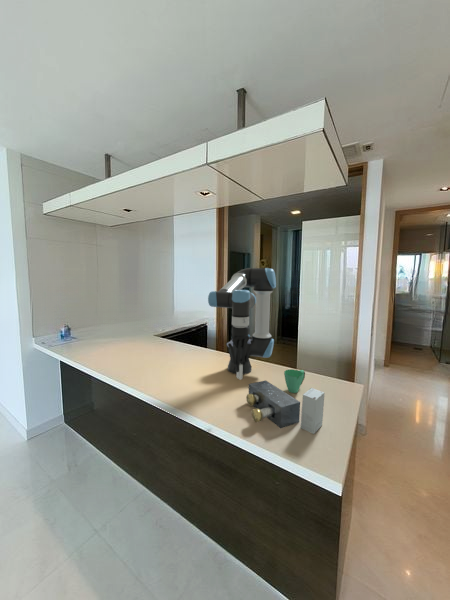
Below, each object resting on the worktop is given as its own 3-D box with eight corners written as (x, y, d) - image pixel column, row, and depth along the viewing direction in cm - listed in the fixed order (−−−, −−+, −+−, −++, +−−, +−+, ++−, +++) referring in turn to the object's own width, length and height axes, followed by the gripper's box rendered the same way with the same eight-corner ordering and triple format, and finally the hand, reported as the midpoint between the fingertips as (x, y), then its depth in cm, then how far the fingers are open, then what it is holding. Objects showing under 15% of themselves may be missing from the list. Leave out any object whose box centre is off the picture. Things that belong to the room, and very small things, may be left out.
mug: (295, 397, 132) (296, 378, 131) (279, 390, 139) (280, 372, 138) (310, 388, 142) (311, 371, 140) (295, 382, 149) (295, 365, 148)
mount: (248, 401, 126) (248, 384, 125) (265, 397, 131) (265, 380, 130) (280, 428, 105) (281, 407, 104) (299, 422, 110) (300, 401, 109)
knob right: (251, 418, 109) (251, 407, 108) (275, 411, 114) (275, 400, 114) (258, 424, 104) (258, 413, 104) (282, 417, 110) (283, 405, 109)
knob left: (246, 402, 121) (246, 392, 121) (268, 397, 127) (268, 387, 127) (252, 407, 117) (252, 397, 116) (274, 401, 123) (274, 391, 122)
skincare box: (309, 420, 111) (311, 387, 110) (323, 426, 107) (325, 391, 106) (300, 428, 105) (301, 393, 104) (314, 435, 101) (316, 398, 100)
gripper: (231, 329, 106) (230, 384, 109) (257, 326, 112) (256, 378, 115) (223, 325, 113) (222, 377, 116) (248, 322, 119) (247, 372, 122)
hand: (239, 378), depth 115 cm, fingers closed
